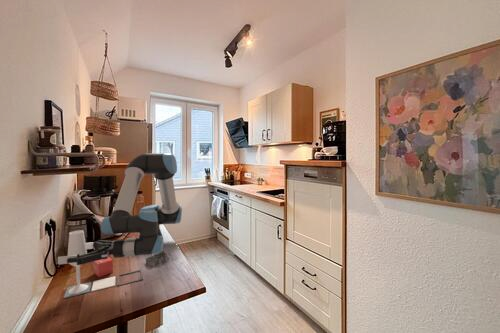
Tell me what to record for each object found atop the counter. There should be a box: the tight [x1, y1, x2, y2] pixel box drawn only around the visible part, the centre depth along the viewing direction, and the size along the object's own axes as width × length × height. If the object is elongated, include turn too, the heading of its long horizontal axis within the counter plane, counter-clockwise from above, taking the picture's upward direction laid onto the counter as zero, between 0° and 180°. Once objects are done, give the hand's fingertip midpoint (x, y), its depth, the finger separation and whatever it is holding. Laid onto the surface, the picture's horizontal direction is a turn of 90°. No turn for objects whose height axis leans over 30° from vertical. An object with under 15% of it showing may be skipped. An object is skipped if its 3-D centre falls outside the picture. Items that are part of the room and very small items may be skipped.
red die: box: [93, 256, 114, 278], centre depth 108 cm, size 6×6×7 cm
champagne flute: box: [67, 229, 88, 294], centre depth 93 cm, size 7×7×24 cm
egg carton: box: [144, 249, 169, 267], centre depth 119 cm, size 11×8×4 cm
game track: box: [62, 269, 144, 300], centre depth 98 cm, size 28×10×1 cm, turn 119°
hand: (68, 253), depth 92 cm, fingers open, 13 cm apart
